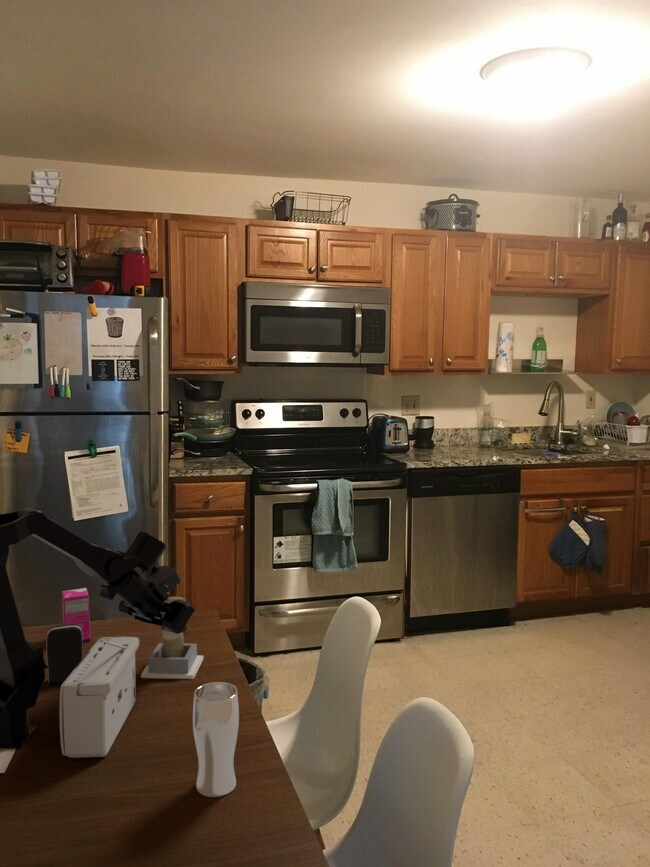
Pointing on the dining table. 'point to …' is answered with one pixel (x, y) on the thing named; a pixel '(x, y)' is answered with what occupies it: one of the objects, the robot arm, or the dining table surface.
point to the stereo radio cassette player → (98, 697)
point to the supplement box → (77, 610)
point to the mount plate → (173, 664)
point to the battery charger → (63, 651)
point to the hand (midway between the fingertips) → (177, 628)
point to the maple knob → (172, 638)
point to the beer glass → (215, 737)
